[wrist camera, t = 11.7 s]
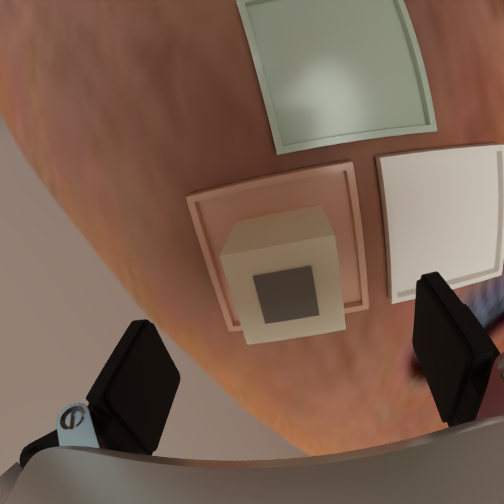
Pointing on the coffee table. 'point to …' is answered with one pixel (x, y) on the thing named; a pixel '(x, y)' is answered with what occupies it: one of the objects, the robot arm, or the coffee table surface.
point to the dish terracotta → (279, 200)
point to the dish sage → (337, 70)
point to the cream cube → (284, 275)
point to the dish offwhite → (442, 215)
